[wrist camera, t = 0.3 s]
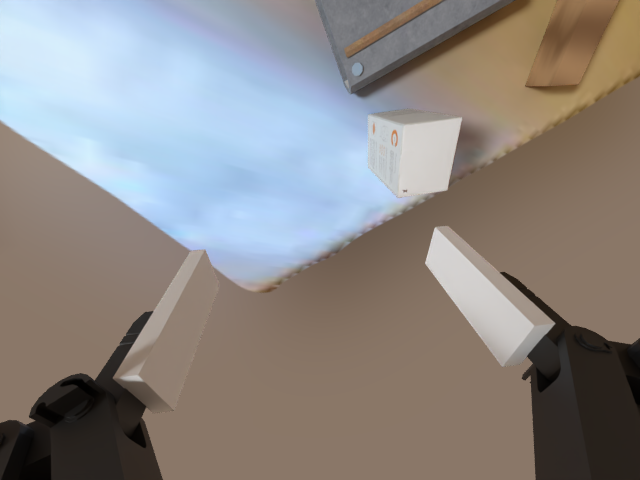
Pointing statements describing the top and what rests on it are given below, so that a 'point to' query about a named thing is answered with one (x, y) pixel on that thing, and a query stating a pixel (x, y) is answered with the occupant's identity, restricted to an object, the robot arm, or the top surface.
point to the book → (392, 31)
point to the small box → (412, 150)
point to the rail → (570, 41)
